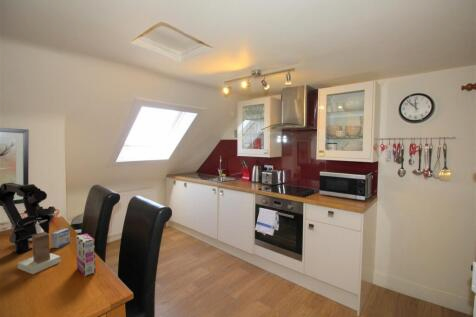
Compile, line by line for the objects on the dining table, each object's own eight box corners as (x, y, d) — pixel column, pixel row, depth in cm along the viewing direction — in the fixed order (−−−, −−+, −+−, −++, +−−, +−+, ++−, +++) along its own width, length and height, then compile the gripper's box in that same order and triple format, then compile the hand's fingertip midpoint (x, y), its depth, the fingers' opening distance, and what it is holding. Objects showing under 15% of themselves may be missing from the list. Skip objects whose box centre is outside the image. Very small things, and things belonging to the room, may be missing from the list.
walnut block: (33, 260, 115) (31, 235, 114) (46, 256, 120) (44, 231, 118) (37, 263, 113) (35, 237, 112) (50, 259, 117) (48, 233, 116)
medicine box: (57, 248, 135) (57, 233, 134) (51, 247, 136) (50, 233, 135) (70, 242, 143) (69, 228, 142) (64, 241, 143) (63, 228, 143)
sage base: (18, 268, 114) (17, 262, 114) (46, 257, 125) (45, 251, 125) (32, 274, 109) (32, 268, 109) (60, 261, 120) (60, 256, 120)
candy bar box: (96, 272, 111) (95, 239, 110) (84, 277, 107) (82, 242, 106) (88, 264, 118) (87, 232, 117) (76, 268, 115) (75, 235, 113)
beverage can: (29, 242, 142) (28, 223, 141) (24, 239, 146) (23, 220, 145) (45, 237, 149) (44, 219, 148) (40, 235, 153) (39, 216, 152)
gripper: (36, 200, 117) (46, 230, 116) (59, 200, 135) (68, 226, 134) (12, 210, 115) (22, 240, 113) (38, 208, 133) (47, 234, 132)
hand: (42, 234), depth 123 cm, fingers open, 9 cm apart
